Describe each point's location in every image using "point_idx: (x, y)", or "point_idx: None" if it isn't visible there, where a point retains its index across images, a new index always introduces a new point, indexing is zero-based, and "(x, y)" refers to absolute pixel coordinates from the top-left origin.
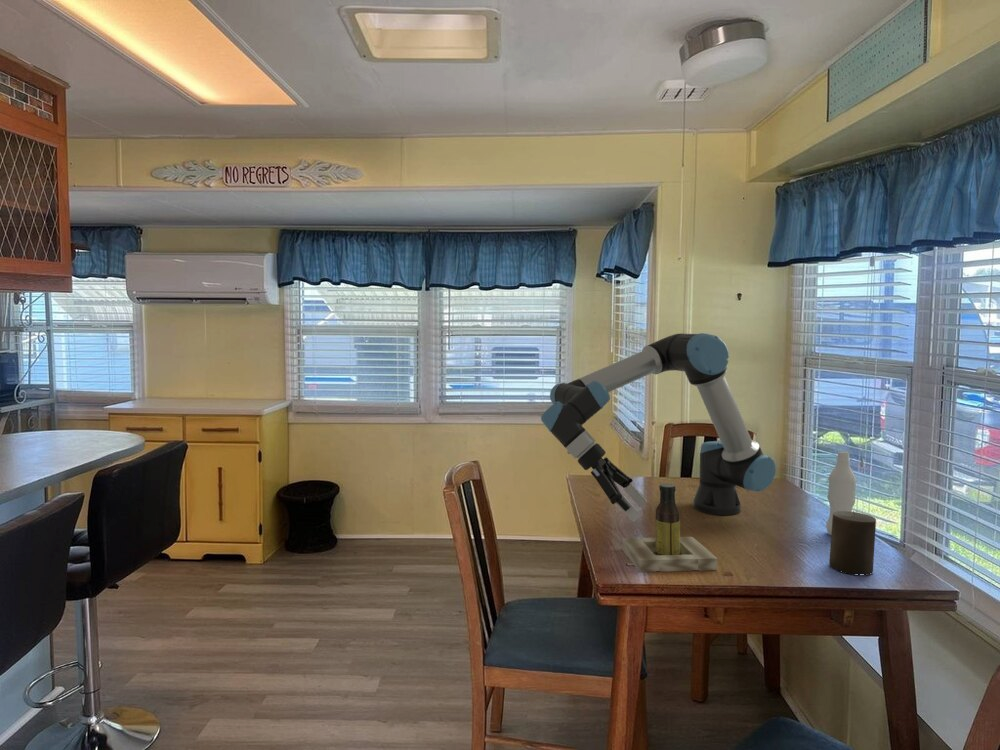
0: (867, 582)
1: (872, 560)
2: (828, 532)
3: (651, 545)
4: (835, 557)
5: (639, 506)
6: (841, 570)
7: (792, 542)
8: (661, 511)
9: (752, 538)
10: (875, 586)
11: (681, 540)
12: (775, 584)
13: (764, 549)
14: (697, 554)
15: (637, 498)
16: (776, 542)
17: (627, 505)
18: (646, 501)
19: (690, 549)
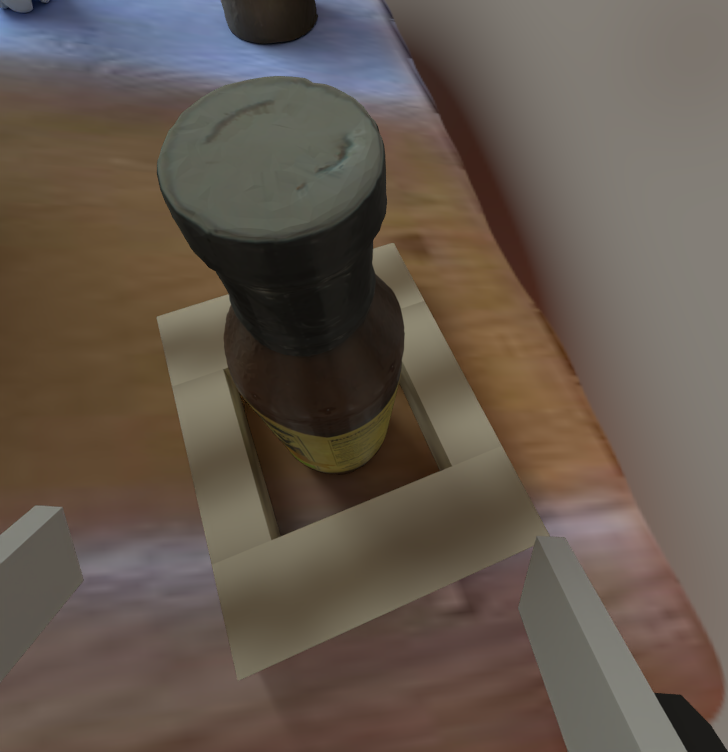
0: (351, 10)
1: None
2: (17, 7)
3: (262, 496)
4: (286, 2)
5: (75, 587)
6: (303, 29)
7: (91, 84)
8: (390, 367)
9: (58, 163)
10: (370, 4)
11: (214, 358)
12: (442, 150)
13: None
14: None
15: (3, 624)
16: (94, 115)
17: (702, 745)
18: (58, 515)
19: None
